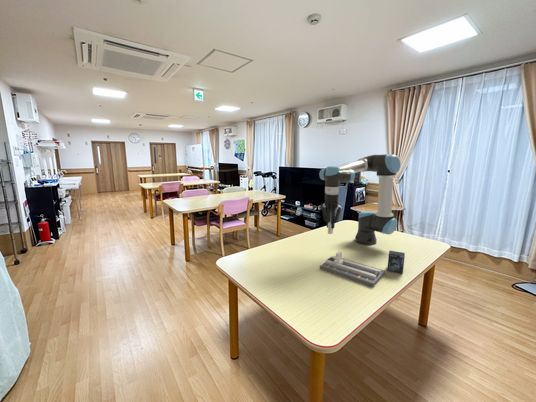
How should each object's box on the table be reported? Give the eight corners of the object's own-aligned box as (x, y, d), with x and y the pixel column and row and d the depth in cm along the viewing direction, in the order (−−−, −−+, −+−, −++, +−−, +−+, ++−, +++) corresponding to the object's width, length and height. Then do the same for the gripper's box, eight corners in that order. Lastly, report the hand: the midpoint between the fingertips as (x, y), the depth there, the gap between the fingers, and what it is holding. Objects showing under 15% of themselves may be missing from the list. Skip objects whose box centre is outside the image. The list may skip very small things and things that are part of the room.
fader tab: (336, 261, 142) (337, 250, 141) (343, 263, 139) (343, 252, 138) (333, 263, 139) (334, 252, 138) (340, 265, 137) (340, 254, 135)
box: (387, 271, 134) (388, 253, 132) (387, 267, 139) (389, 250, 137) (403, 274, 130) (404, 256, 128) (403, 270, 135) (404, 252, 133)
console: (334, 258, 151) (334, 252, 150) (384, 274, 131) (385, 267, 130) (319, 268, 138) (320, 262, 137) (373, 287, 118) (374, 279, 117)
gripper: (318, 193, 138) (316, 232, 142) (339, 195, 129) (337, 237, 133) (324, 192, 143) (323, 229, 147) (345, 194, 134) (343, 234, 138)
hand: (330, 233), depth 140 cm, fingers closed
